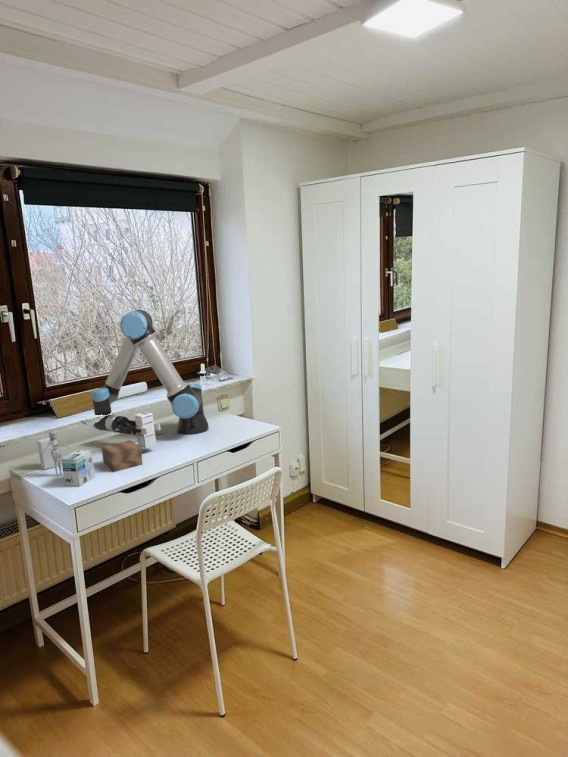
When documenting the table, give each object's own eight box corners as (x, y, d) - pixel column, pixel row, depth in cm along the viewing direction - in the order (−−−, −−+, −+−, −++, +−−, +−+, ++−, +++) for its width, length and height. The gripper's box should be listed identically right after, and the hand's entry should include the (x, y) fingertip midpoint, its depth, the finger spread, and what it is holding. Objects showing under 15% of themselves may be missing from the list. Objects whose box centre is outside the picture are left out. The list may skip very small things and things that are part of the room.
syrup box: (157, 445, 246) (153, 412, 243) (145, 448, 242) (141, 415, 239) (149, 443, 250) (145, 411, 247) (138, 446, 246) (134, 414, 243)
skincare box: (55, 464, 237) (51, 436, 235) (59, 466, 234) (55, 438, 232) (40, 468, 233) (36, 440, 231) (44, 470, 230) (40, 442, 228)
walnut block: (131, 458, 239) (129, 440, 238) (142, 465, 230) (140, 446, 228) (103, 465, 233) (101, 446, 231) (113, 472, 223) (111, 453, 221)
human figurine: (45, 480, 218) (38, 435, 215) (41, 478, 221) (35, 434, 218) (75, 471, 226) (69, 428, 223) (72, 469, 229) (66, 427, 225)
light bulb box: (80, 486, 209) (76, 459, 207) (64, 486, 211) (60, 458, 209) (95, 476, 220) (91, 449, 217) (79, 476, 221) (76, 449, 219)
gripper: (135, 426, 263) (170, 431, 250) (101, 438, 247) (137, 444, 234) (133, 410, 261) (168, 415, 248) (99, 421, 246) (134, 426, 233)
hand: (153, 429), depth 241 cm, fingers closed on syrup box, 6 cm apart
